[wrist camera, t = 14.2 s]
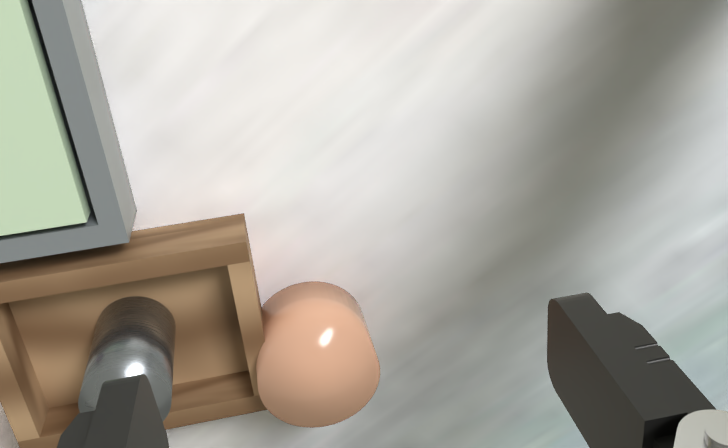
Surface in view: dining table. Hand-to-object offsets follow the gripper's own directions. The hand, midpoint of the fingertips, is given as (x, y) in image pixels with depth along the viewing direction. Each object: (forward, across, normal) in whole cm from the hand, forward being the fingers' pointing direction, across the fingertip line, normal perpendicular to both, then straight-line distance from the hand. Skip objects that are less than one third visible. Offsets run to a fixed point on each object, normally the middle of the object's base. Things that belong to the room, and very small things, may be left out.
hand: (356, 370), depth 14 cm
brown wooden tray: (+25, +11, +14) cm, 31 cm away
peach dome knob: (+25, +1, +17) cm, 31 cm away
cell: (+24, +11, +14) cm, 30 cm away
